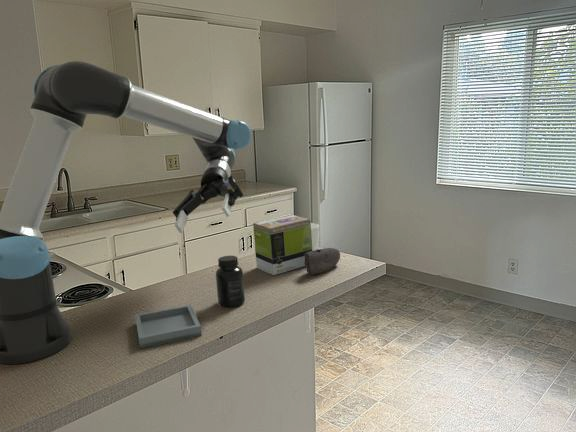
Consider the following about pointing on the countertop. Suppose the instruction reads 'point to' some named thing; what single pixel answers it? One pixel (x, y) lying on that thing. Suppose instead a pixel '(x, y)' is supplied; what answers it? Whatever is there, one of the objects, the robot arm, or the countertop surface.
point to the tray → (167, 326)
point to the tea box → (282, 243)
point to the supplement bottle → (229, 282)
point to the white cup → (315, 236)
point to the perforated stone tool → (321, 260)
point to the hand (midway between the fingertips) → (201, 220)
